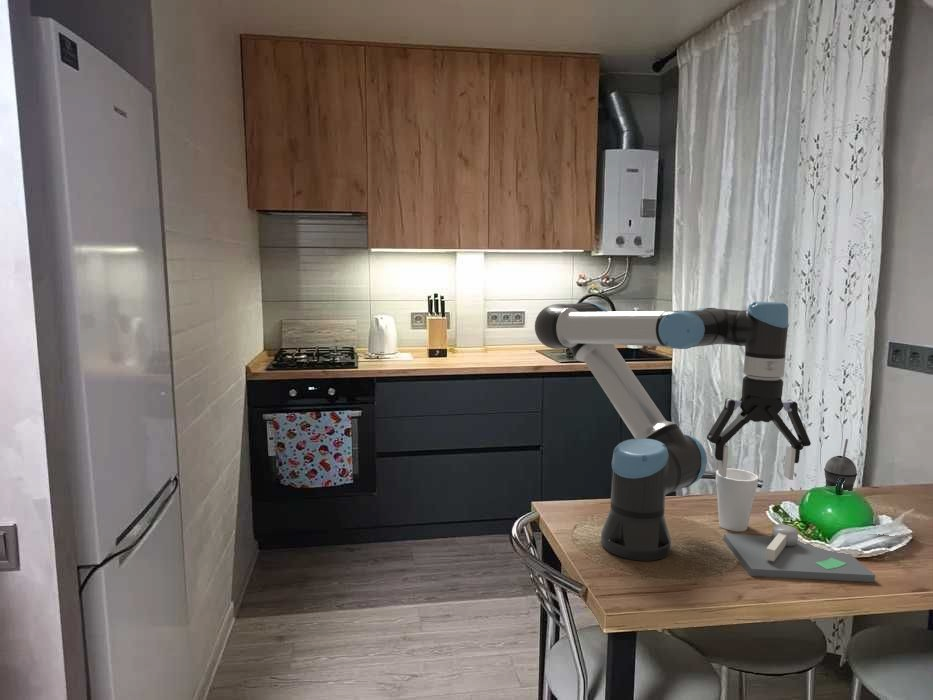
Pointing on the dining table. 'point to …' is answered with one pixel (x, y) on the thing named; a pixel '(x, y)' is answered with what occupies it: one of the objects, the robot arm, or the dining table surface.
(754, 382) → the robot arm
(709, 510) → the dining table surface
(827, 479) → the beverage cup
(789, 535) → the white knobbed bar
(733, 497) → the foam cup
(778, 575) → the board
